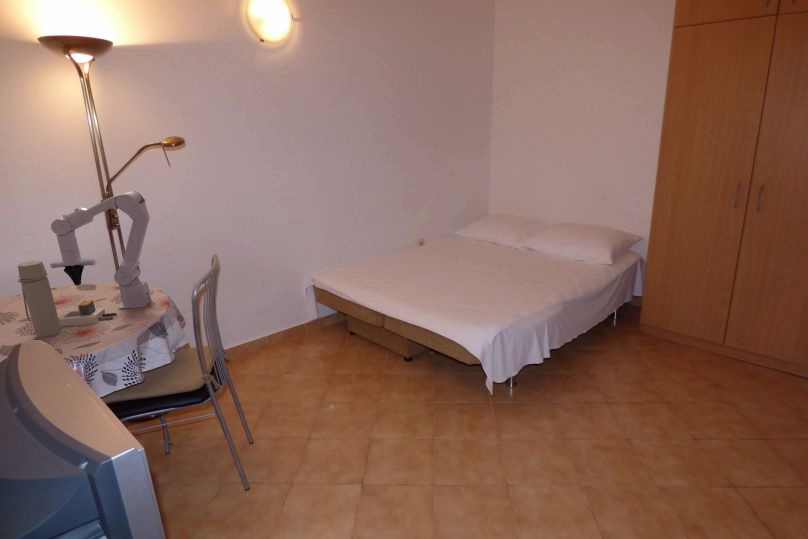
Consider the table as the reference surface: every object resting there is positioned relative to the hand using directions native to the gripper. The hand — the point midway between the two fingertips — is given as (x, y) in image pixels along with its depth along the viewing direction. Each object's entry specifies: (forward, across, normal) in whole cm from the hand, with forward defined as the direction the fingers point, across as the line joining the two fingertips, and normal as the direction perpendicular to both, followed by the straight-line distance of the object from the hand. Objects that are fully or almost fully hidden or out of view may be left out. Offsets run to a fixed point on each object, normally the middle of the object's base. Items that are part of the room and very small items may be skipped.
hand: (78, 284), depth 184 cm
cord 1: (+10, -13, +14) cm, 21 cm away
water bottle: (+10, +2, +23) cm, 25 cm away
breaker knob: (+7, -7, +12) cm, 16 cm away
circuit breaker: (+10, -4, +12) cm, 17 cm away
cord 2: (+10, -13, +10) cm, 19 cm away
